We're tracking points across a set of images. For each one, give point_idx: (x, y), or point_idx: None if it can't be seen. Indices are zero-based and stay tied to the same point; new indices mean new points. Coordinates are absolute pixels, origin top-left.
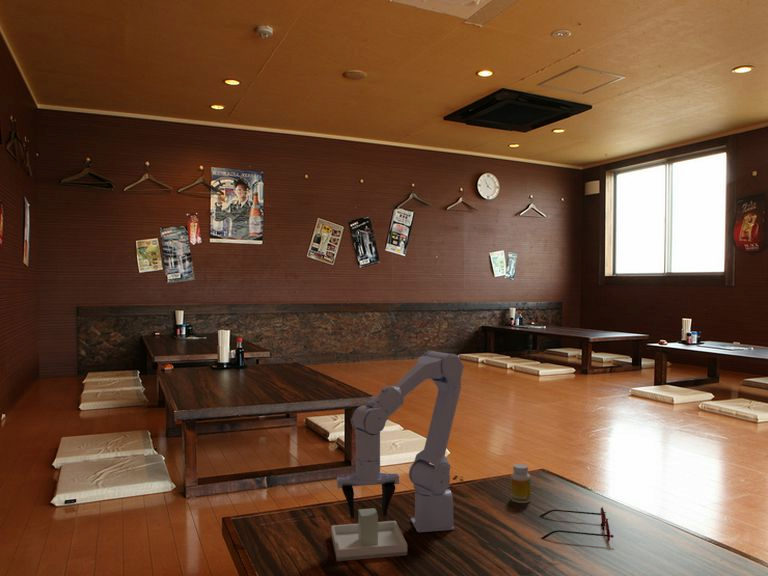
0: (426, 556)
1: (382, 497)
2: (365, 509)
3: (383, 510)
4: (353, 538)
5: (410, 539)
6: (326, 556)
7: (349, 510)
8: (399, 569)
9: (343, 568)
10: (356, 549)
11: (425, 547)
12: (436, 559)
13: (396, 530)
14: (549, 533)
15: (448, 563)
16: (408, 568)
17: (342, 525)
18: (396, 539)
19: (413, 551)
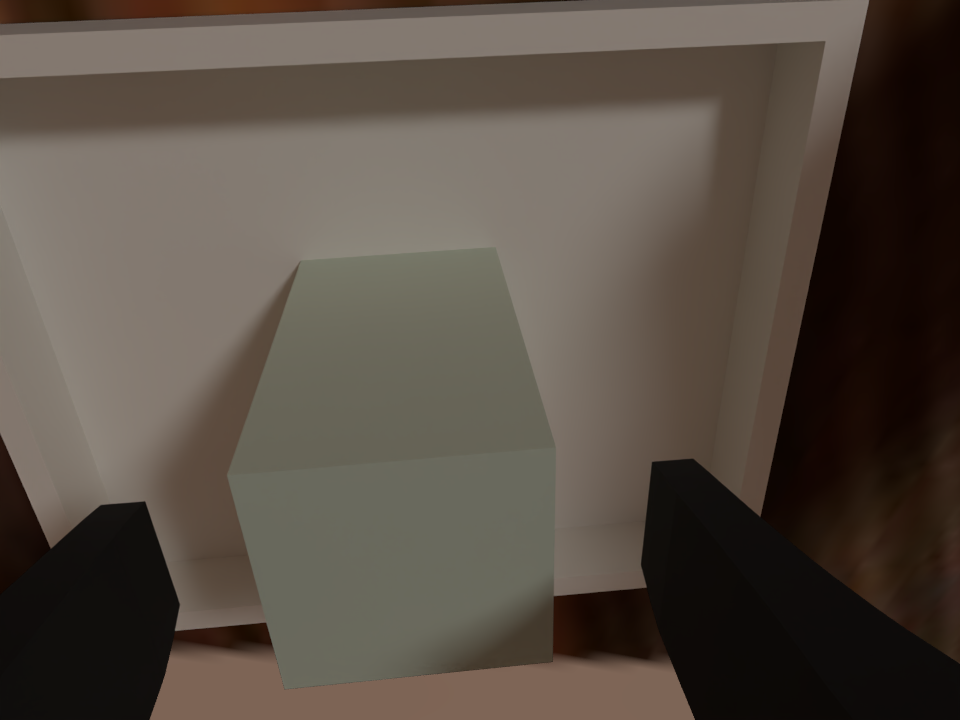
0: (842, 533)
1: (781, 636)
2: (367, 486)
3: (668, 614)
4: (241, 250)
5: (860, 245)
6: (10, 486)
7: (47, 556)
8: (592, 662)
9: (196, 641)
10: None
11: (910, 407)
12: (887, 571)
13: (772, 220)
14: None
15: (932, 615)
16: (654, 654)
17: (24, 64)
18: (709, 321)
19: (782, 460)
